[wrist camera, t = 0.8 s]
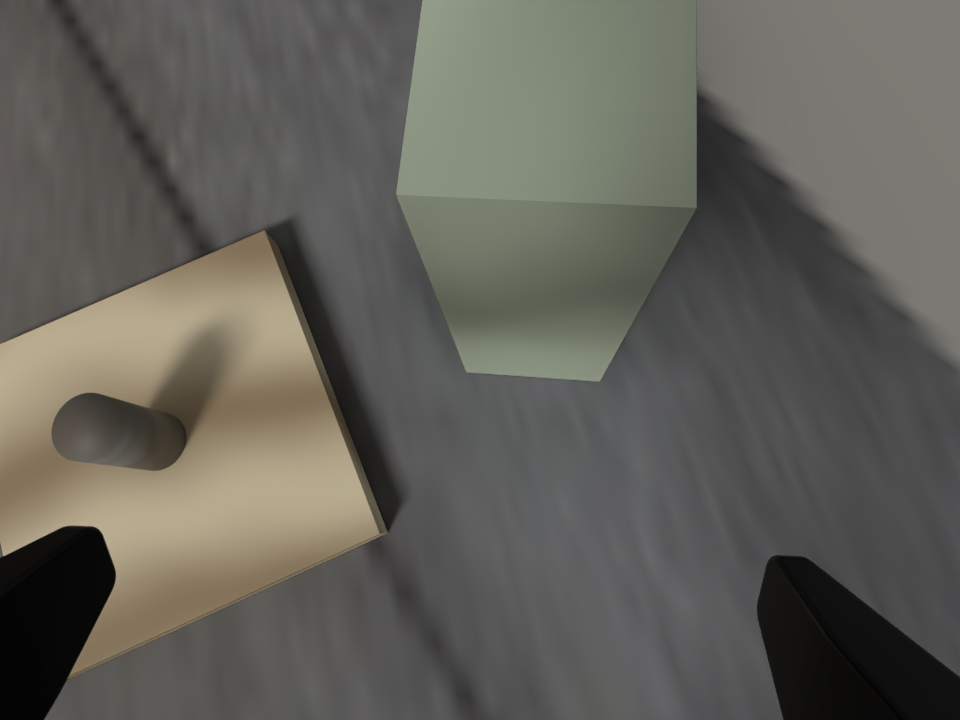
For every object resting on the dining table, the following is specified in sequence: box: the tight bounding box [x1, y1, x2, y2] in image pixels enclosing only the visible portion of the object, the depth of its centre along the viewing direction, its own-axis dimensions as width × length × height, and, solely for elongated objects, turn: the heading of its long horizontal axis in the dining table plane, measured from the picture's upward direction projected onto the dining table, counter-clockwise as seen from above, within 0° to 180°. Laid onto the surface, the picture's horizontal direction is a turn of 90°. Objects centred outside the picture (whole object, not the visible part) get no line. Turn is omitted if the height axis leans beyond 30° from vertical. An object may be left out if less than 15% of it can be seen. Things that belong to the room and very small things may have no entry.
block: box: [396, 0, 697, 382], centre depth 16 cm, size 5×5×12 cm
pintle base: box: [0, 230, 388, 679], centre depth 20 cm, size 12×12×5 cm
